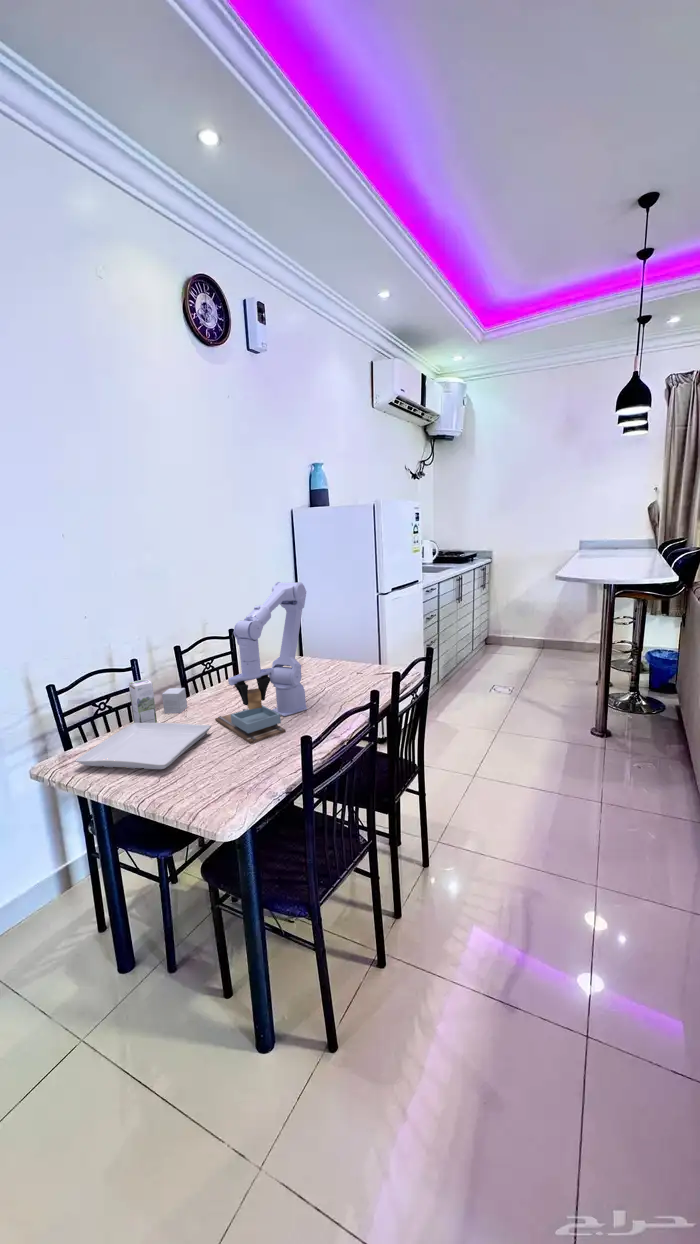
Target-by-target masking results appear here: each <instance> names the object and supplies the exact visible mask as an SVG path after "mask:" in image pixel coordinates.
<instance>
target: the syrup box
mask: <svg viewBox="0 0 700 1244" xmlns="http://www.w3.org/2000/svg"><path fill="white" fill-rule="evenodd" d="M128 687H129V688H128V689H129V696H130V703H131V709H132V710H131V711H132V718H133V719H132V720H133V723H158V721H157V713H156V712H157V711H156V705H155V697H154V696H155V695H154V687H153V682H152V681H151V680H149V679H147V678H144V679H140V680H135V681H132V682H128Z"/></svg>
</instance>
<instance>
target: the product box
mask: <svg viewBox="0 0 700 1244" xmlns="http://www.w3.org/2000/svg"><path fill="white" fill-rule="evenodd" d="M186 693H187V692H186V688H185V687H175V688H174V687H169V688H168V689H166V690H165V691H163V692H162V693H161V696H162V705H163V712H164V714H181V713H182V712H184V710H186V709H187V708H188V703H187V702H188V701H187V694H186Z"/></svg>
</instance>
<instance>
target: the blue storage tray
mask: <svg viewBox="0 0 700 1244" xmlns="http://www.w3.org/2000/svg"><path fill="white" fill-rule="evenodd" d="M247 709H248V708H247ZM240 711H241V712H239V711H236V712H237V713H236V712H233V713H234V714H232V713H230V714H231V723H232V724H234V725H235V727H236V728H237V727H239V728H240V729H242V730H244V731H245V732H246V733H247V735H249V734H251V732H254V731H257V730H260V729H263V728H266V727H269V726H277V725H278V724H281V723H282V718H281V715H280V714H279V713H277V712H275V711H273V710H272V709H271V708H269V707H267V706H265V705H262V708H256V709H250V710H249V709H248V710H244V711H243V710H240ZM278 726H279V725H278Z"/></svg>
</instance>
